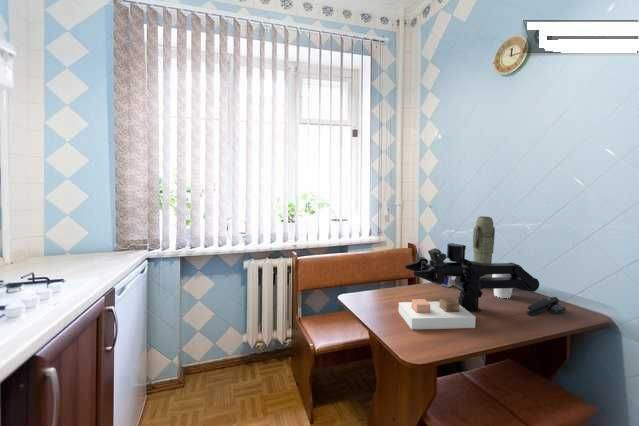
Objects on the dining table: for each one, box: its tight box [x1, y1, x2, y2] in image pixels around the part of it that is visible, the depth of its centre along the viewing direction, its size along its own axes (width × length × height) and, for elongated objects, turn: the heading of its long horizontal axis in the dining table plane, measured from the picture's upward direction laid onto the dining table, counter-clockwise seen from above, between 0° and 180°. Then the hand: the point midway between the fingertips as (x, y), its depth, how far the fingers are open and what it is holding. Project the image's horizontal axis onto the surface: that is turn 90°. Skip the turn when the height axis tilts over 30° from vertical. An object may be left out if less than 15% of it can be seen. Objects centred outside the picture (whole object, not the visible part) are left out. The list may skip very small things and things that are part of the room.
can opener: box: [526, 296, 566, 317], centre depth 114 cm, size 18×7×6 cm, turn 108°
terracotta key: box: [411, 298, 430, 313], centre depth 107 cm, size 5×5×4 cm
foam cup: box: [492, 274, 514, 300], centre depth 130 cm, size 10×9×13 cm
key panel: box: [398, 301, 477, 330], centre depth 108 cm, size 23×14×4 cm, turn 93°
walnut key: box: [439, 298, 460, 312], centre depth 108 cm, size 5×5×4 cm
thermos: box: [472, 215, 496, 278], centre depth 143 cm, size 9×12×35 cm
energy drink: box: [440, 260, 453, 288], centre depth 144 cm, size 5×5×12 cm
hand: (409, 270), depth 115 cm, fingers open, 9 cm apart
